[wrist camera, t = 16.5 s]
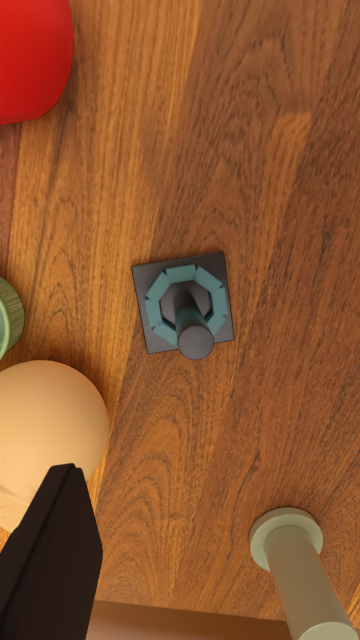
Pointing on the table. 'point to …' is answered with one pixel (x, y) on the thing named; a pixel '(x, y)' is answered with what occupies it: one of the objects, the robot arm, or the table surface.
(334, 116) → the table surface
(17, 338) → the ramekin
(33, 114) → the tomato
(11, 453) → the sculpture
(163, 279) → the ring
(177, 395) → the table surface
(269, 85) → the table surface
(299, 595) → the ring stand
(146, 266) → the black peg stand
